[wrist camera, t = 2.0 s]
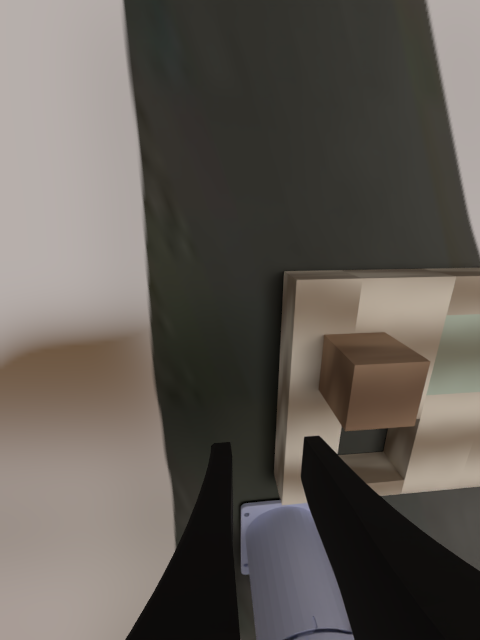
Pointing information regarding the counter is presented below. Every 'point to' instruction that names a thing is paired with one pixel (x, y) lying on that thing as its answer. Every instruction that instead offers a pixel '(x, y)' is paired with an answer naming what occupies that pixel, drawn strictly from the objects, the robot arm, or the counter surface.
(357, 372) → the walnut block
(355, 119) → the counter surface
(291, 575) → the robot arm
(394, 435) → the trap deck
